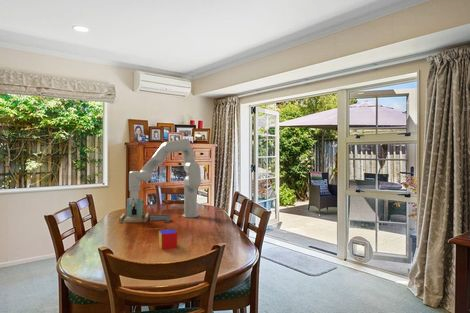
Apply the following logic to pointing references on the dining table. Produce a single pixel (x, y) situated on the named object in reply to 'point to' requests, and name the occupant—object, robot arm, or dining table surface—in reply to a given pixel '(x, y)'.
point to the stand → (160, 218)
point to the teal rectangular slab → (138, 207)
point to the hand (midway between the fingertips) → (134, 214)
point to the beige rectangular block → (133, 219)
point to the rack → (121, 219)
